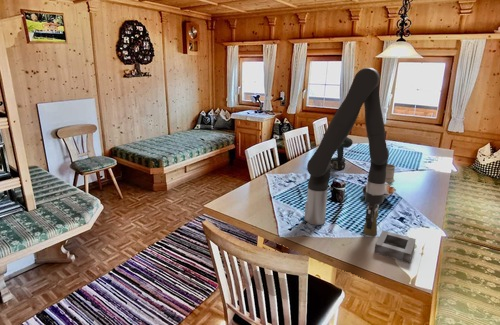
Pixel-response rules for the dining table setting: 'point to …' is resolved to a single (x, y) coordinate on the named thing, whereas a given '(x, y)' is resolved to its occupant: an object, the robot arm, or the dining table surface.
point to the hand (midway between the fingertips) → (370, 225)
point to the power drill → (340, 155)
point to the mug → (390, 173)
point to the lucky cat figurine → (387, 192)
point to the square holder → (395, 246)
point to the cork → (374, 227)
